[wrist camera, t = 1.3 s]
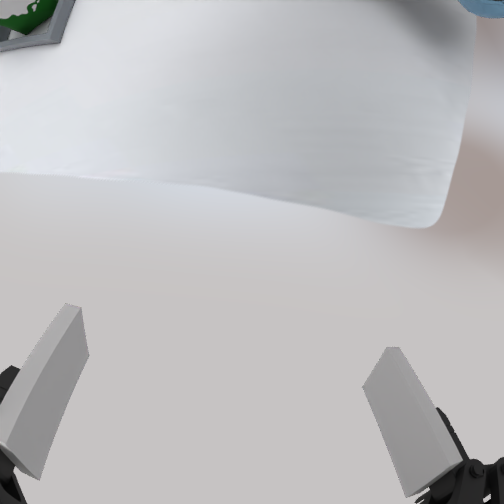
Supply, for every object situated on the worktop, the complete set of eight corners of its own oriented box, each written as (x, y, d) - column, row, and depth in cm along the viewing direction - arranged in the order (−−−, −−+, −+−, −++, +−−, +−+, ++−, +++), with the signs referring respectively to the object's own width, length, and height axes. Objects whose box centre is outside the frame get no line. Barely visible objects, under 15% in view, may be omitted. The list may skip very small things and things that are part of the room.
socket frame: (27, -19, 19) (18, -23, 16) (90, -34, 21) (83, -41, 18) (0, 51, 24) (-11, 50, 22) (59, 42, 26) (49, 38, 24)
